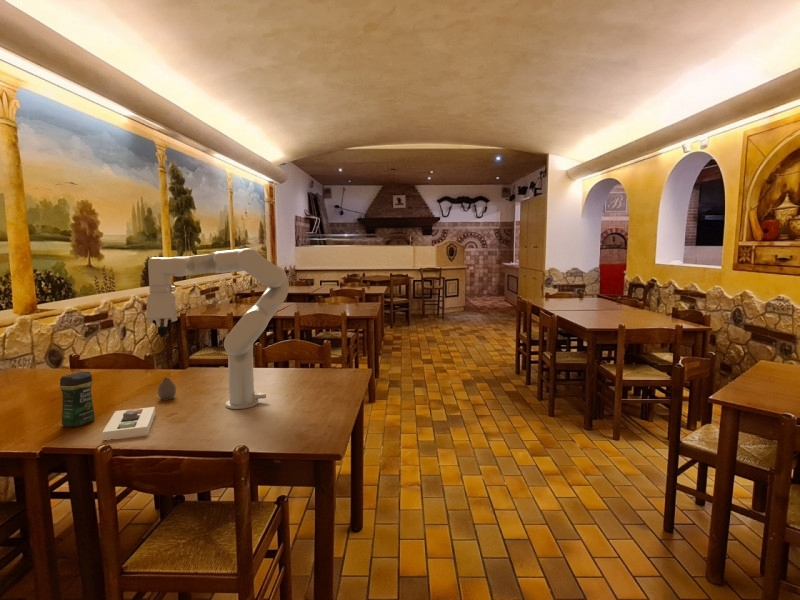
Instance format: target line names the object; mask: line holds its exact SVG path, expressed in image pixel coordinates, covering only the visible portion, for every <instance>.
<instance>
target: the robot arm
mask: <svg viewBox="0 0 800 600" xmlns="http://www.w3.org/2000/svg"><path fill="white" fill-rule="evenodd" d="M147 265H148V266H147V267H148V289H149V293H147V297H146V320H145V321H146V323H151V324H154V325H155V326H156V327H157V333H158V336H160V338H166V336H167V335H168V326H169V325H170V324H171V323H174V322H176V321H178V316H177V314H178V313H177V303H176V302H177V301H176V296H175V293H174V292H173V291H174V290H176V286H175V285H172V277H184V276H185V277H186V276H193V275H200V274H211V273H212V274H225V273H233V272H242V271H243V272H245V273H247V274H248V275H249V276H251V277H253V279H256V280H257V281H258V282H260V283H262V284H263V285H264V286H266V289H265V291H264V292H263V294H261V296H260V297H259V299H257V301H256V302H255V303H254V304H253V306H252V307H250V308H249V309H248V310H247V311H246V312H245V313H244V314H243V315H242V316H241V318H240V319H239V320H238V321H237V323H236V324H235V325H234V326H233V327H232V329H231V330H230V332H228V333H227V335H226V336H225V337H224V341H223V347H224V349H225V351H226V353H228V354H227V359H228V360H227V362H228V363H227V366H228V370H227V371H228V390H229V391H228V393H229V397H228V400H227V401H226V402H225V407H226V408H228V409H232V410H243V409H244V410H245V409H248V408H252V407H255V406H257V405H258V404H259V399H260V400H262V399H266V398H267V394H266V393H263V392H259V393H258V392H256V391H255V379H254V343H255V342H256V341H257V340H258V338H260V336H261V335H262V333H263V332H265V330H266V328H267V327H268V324H269V323H270V321H271V319H272V318H273V316H275V314H276V313H277V312H278V310H279V309H280V308H281V306H282V305H283V304H284V302H285V300H286V299H287V297H288V294H289V289H290V283H289V277H288V275H287V274H286V271H285V269H284V268H282V266H280V265H276V264H274V263H273V262H271V261H269V260H268V259H267V258H265V257H264V256H262V255H261V254H260V253H259V251H258V250H257V249H254V248H252V247H251V248H250V247H246V248H239V249H231V250H220V251H213V252H211V253H207V254H200V255H190V256H189V255H188V256H174V257H173V256H172V257H159V256H157V257H150V258H149V259H148V260H147ZM161 320H164V321H163V324H162V322H161Z"/></svg>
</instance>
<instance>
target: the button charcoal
mask: <svg viewBox="0 0 800 600" xmlns="http://www.w3.org/2000/svg"><path fill="white" fill-rule="evenodd" d="M134 420H138V413H137V411H129V412H125V413H123V421H122V422H126V421H134Z"/></svg>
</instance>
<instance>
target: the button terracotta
mask: <svg viewBox="0 0 800 600" xmlns="http://www.w3.org/2000/svg"><path fill="white" fill-rule="evenodd" d="M127 410H128V411H127V412H129V411H137V413H138V414H141V410H140V409H139V408H133V409H132V408H131V410H130V409H127ZM138 419H139V417H138Z"/></svg>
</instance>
